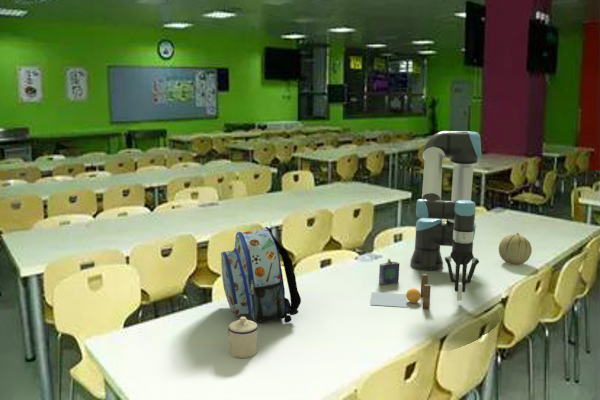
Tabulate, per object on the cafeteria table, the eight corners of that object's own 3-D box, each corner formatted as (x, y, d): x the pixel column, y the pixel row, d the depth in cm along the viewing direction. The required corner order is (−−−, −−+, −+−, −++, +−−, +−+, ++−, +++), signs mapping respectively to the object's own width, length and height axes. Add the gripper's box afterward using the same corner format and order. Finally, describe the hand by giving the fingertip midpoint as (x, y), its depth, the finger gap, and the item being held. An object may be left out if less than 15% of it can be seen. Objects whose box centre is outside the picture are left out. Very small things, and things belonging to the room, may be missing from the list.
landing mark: (371, 292, 231) (371, 292, 231) (406, 294, 229) (406, 294, 229) (370, 305, 218) (370, 304, 218) (407, 307, 216) (407, 307, 216)
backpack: (212, 300, 221) (210, 222, 215) (274, 292, 230) (274, 218, 224) (233, 334, 191) (231, 244, 185) (302, 323, 200) (303, 238, 194)
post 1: (420, 295, 229) (421, 273, 227) (426, 295, 229) (427, 274, 227) (420, 297, 227) (421, 275, 225) (427, 297, 226) (428, 276, 224)
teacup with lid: (263, 352, 178) (263, 317, 176) (241, 362, 171) (240, 326, 169) (239, 340, 186) (239, 307, 184) (217, 349, 180) (216, 314, 178)
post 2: (422, 306, 217) (423, 284, 215) (429, 306, 216) (430, 284, 215) (422, 309, 214) (423, 286, 213) (429, 309, 214) (430, 286, 212)
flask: (380, 285, 240) (381, 261, 238) (377, 283, 243) (378, 259, 241) (399, 283, 243) (400, 259, 241) (396, 281, 246) (397, 257, 244)
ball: (411, 301, 224) (403, 290, 224) (422, 294, 223) (415, 283, 222) (411, 307, 219) (403, 296, 219) (423, 300, 218) (415, 289, 217)
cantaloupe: (499, 267, 266) (501, 236, 263) (496, 258, 280) (498, 229, 277) (532, 270, 263) (535, 238, 260) (527, 261, 277) (530, 231, 274)
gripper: (446, 242, 212) (442, 301, 217) (482, 244, 210) (477, 304, 215) (444, 237, 219) (441, 295, 224) (478, 239, 218) (474, 297, 222)
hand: (459, 299), depth 219 cm, fingers closed
